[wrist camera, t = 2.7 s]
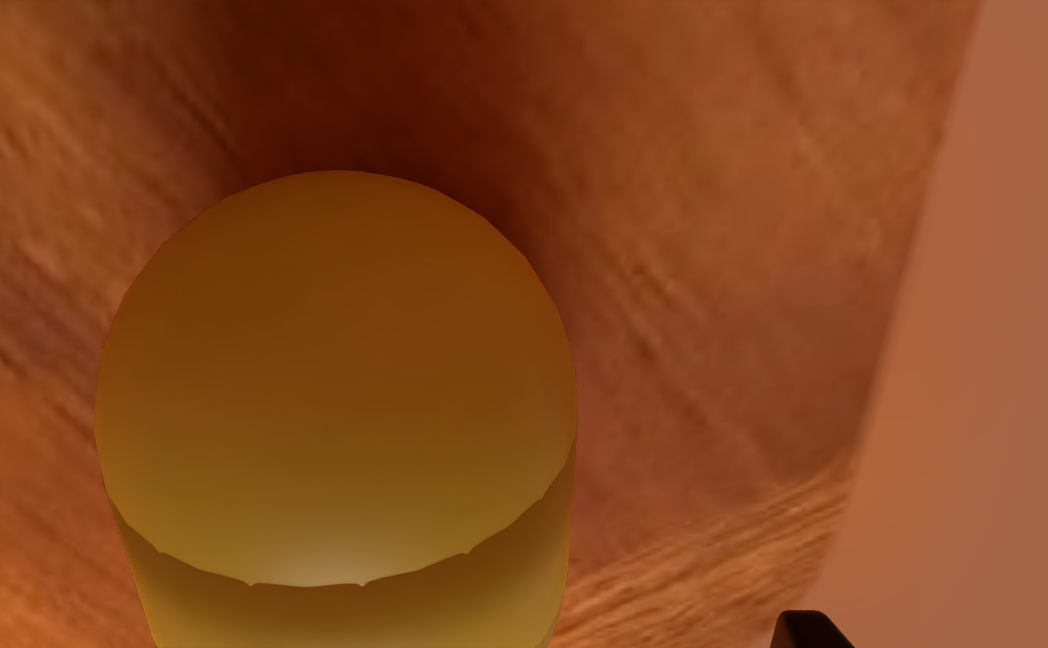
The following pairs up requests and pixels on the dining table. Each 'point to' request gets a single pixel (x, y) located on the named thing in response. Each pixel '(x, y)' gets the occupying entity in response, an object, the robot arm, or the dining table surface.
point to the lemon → (340, 425)
